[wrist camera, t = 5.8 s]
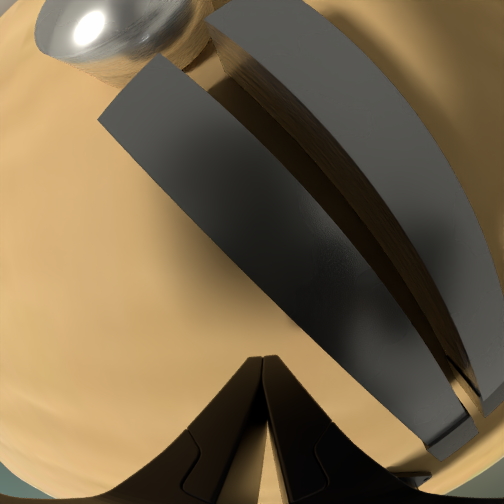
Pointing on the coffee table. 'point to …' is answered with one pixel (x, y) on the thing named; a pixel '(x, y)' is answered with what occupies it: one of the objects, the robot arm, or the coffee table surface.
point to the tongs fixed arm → (376, 171)
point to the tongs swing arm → (250, 201)
